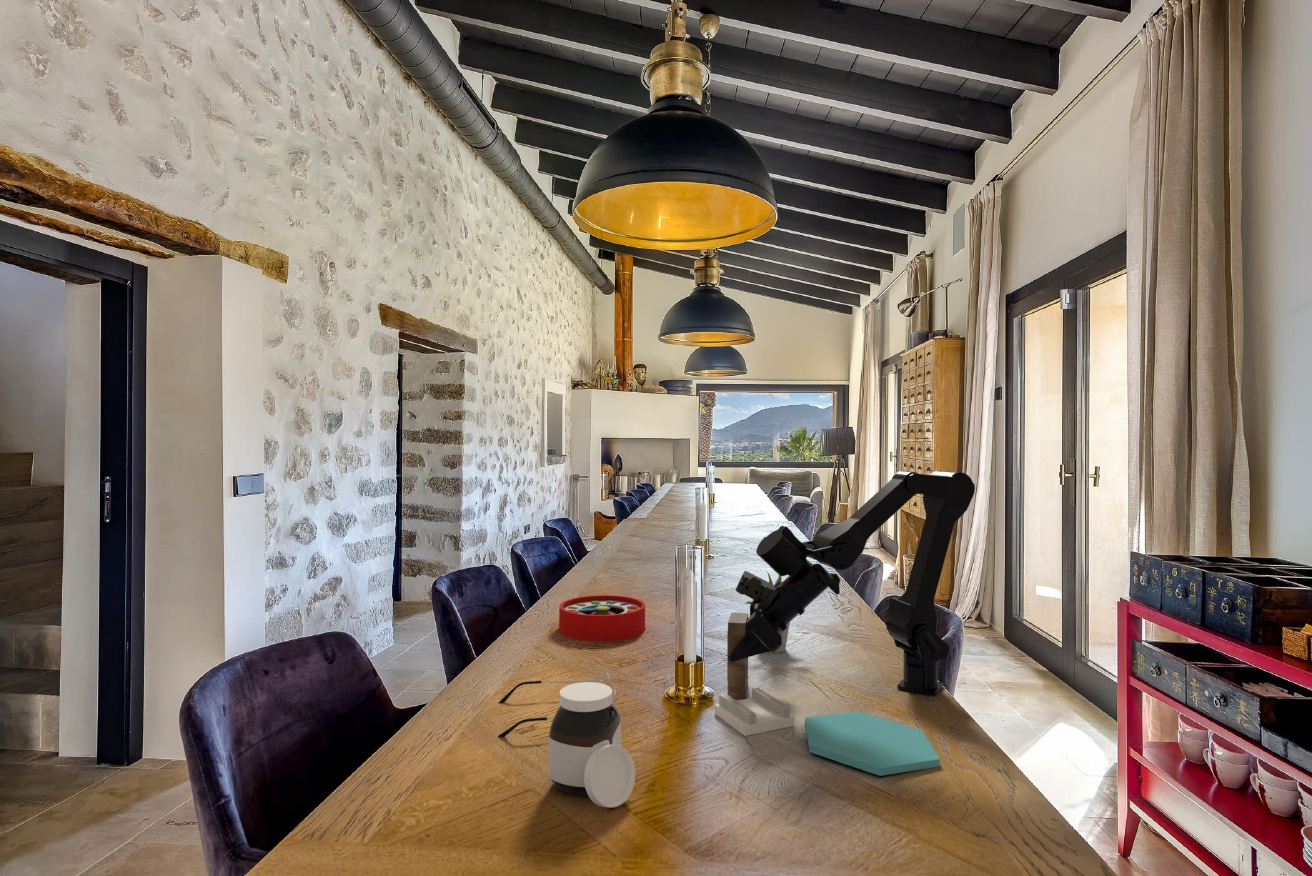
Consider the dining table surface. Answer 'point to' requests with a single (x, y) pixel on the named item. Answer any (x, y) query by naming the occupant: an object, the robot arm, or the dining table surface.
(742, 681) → the brown box
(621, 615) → the toy clock
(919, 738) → the plaque
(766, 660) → the dining table surface
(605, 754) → the spread jar
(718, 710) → the display stand
